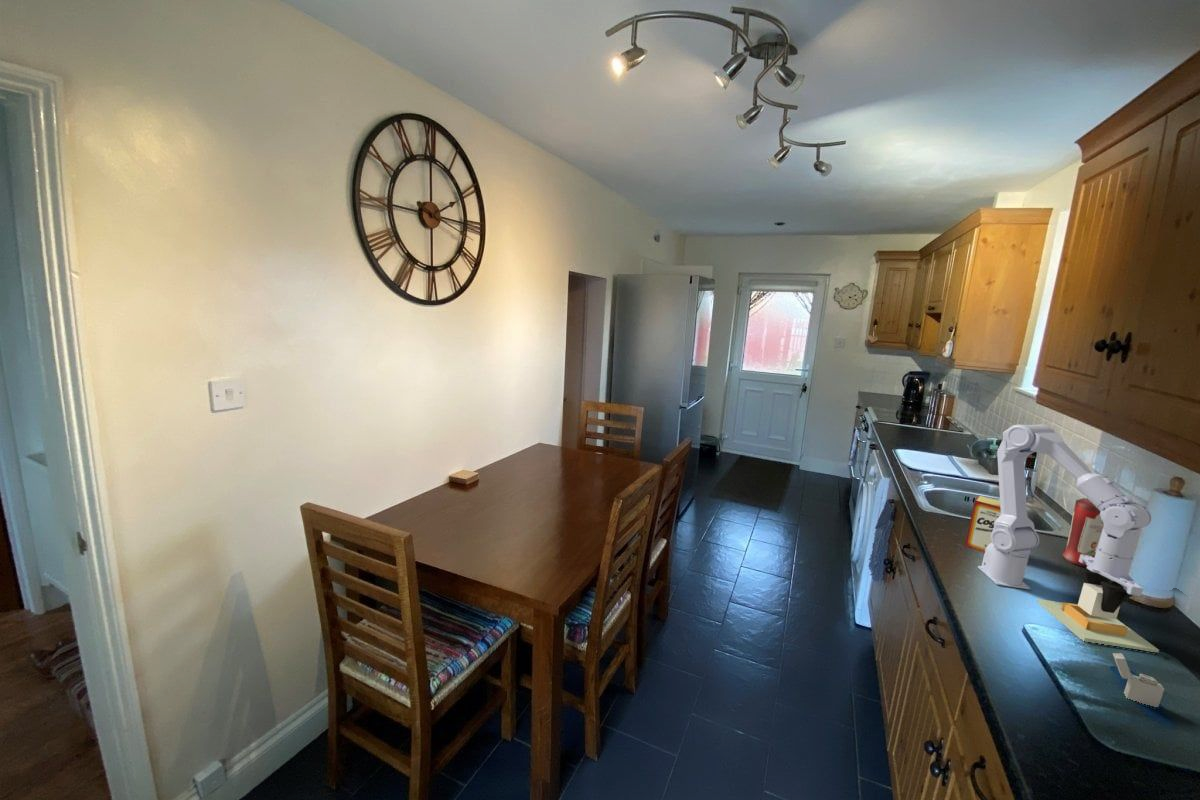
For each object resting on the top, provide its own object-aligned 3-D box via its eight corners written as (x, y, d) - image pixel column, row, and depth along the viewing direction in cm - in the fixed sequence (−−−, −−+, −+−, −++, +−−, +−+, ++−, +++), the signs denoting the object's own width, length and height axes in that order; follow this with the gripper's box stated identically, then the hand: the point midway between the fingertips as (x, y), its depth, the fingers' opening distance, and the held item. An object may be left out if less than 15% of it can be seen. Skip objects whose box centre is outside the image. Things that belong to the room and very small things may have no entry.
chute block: (1077, 605, 114) (1083, 582, 113) (1101, 609, 113) (1108, 586, 112) (1090, 615, 110) (1097, 592, 109) (1116, 619, 109) (1123, 596, 108)
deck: (1037, 602, 121) (1040, 591, 120) (1101, 612, 118) (1104, 601, 118) (1083, 641, 106) (1087, 630, 106) (1157, 653, 104) (1161, 642, 103)
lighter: (1154, 703, 89) (1166, 666, 88) (1157, 709, 88) (1170, 672, 86) (1101, 685, 93) (1112, 650, 92) (1104, 690, 92) (1116, 655, 90)
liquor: (1076, 556, 147) (1099, 472, 142) (1101, 569, 140) (1127, 480, 135) (1053, 555, 147) (1076, 470, 141) (1077, 568, 140) (1102, 479, 134)
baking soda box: (964, 546, 150) (975, 499, 147) (968, 540, 154) (979, 494, 151) (1002, 558, 143) (1014, 509, 140) (1005, 552, 147) (1017, 504, 144)
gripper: (1070, 535, 116) (1057, 585, 119) (1121, 566, 102) (1105, 621, 105) (1104, 540, 115) (1089, 590, 117) (1160, 571, 101) (1142, 627, 104)
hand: (1099, 605), depth 111 cm, fingers closed on chute block, 4 cm apart
